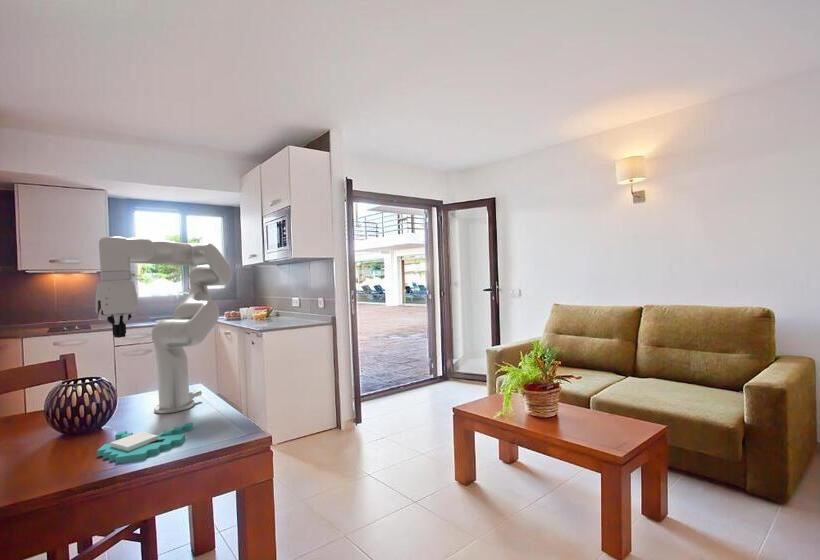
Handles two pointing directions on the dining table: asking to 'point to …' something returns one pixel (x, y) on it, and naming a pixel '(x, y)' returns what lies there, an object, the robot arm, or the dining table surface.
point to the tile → (134, 441)
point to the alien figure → (143, 452)
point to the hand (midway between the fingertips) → (119, 336)
